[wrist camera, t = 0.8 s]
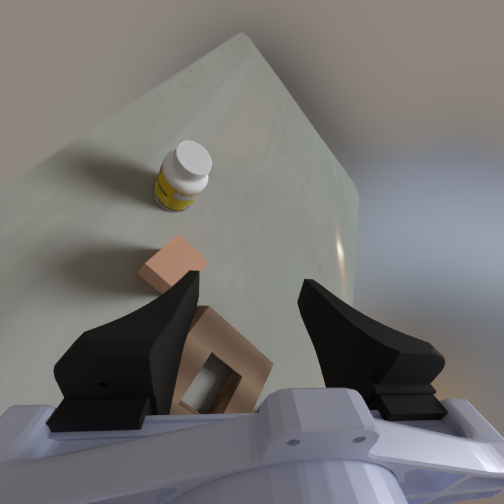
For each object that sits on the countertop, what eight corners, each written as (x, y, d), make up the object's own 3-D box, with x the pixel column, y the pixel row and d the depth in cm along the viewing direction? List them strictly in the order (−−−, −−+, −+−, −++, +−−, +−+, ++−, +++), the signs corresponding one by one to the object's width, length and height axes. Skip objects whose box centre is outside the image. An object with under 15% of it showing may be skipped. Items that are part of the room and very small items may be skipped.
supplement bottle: (151, 175, 27) (167, 125, 19) (189, 183, 30) (216, 143, 23) (153, 211, 26) (170, 173, 19) (192, 215, 30) (220, 185, 22)
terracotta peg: (163, 296, 25) (181, 294, 19) (136, 273, 24) (144, 263, 17) (186, 271, 27) (209, 262, 21) (163, 249, 26) (179, 233, 20)
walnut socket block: (208, 467, 24) (218, 485, 22) (113, 415, 20) (114, 431, 18) (261, 358, 32) (273, 363, 29) (200, 305, 28) (209, 305, 25)
